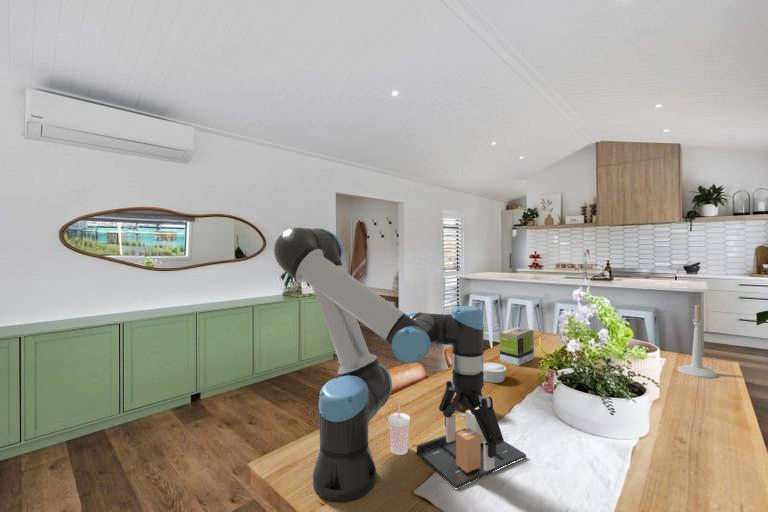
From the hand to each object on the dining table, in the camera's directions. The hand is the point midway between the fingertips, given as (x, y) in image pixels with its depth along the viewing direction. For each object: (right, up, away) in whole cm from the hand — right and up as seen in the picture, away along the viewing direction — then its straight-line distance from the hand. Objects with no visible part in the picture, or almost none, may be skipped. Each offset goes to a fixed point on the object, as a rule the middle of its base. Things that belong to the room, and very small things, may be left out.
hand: (468, 454), depth 88 cm
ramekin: (+25, -3, +60) cm, 65 cm away
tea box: (+44, -2, +84) cm, 94 cm away
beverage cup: (-17, -5, +10) cm, 20 cm away
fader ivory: (+5, -2, +12) cm, 13 cm away
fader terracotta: (0, -3, 0) cm, 3 cm away
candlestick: (+115, -2, +65) cm, 132 cm away
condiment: (+7, -4, +33) cm, 34 cm away
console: (+2, -4, +7) cm, 8 cm away
